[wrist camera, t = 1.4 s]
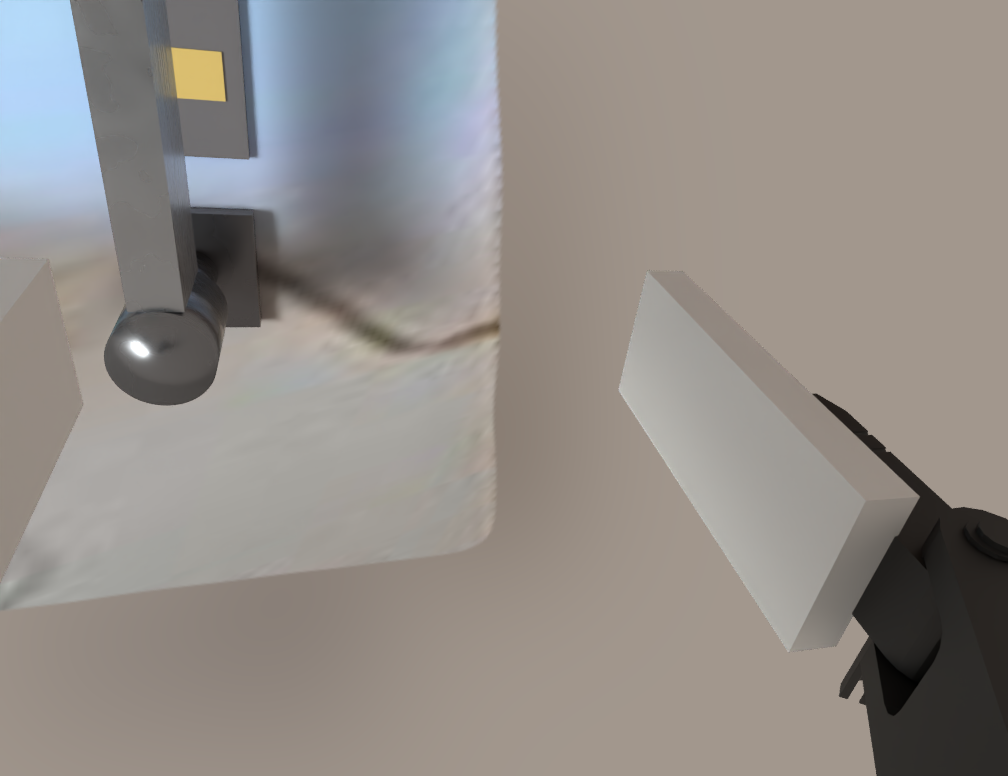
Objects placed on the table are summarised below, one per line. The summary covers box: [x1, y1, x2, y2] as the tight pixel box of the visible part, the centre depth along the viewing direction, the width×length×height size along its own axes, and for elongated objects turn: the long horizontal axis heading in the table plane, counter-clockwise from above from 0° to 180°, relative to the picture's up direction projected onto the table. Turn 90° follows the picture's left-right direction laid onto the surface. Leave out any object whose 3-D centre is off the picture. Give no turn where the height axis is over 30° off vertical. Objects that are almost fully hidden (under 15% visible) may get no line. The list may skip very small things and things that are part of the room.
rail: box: [70, 0, 228, 405], centre depth 25 cm, size 4×22×5 cm, turn 173°
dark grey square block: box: [191, 207, 261, 327], centre depth 33 cm, size 6×6×4 cm
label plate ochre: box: [166, 0, 249, 159], centre depth 30 cm, size 6×7×1 cm
